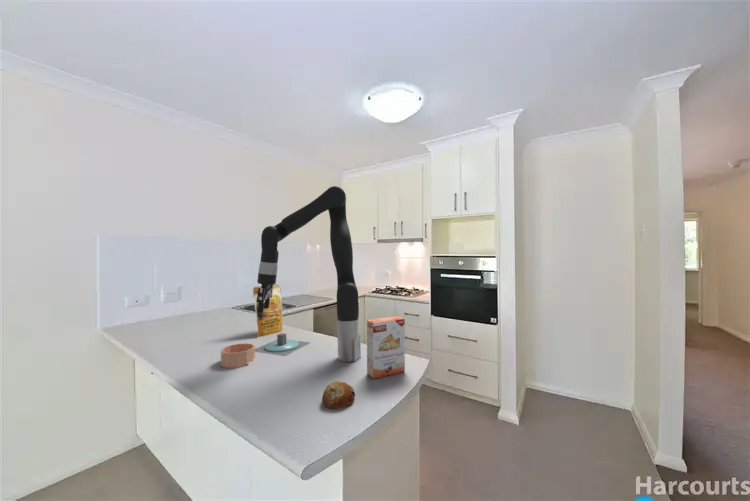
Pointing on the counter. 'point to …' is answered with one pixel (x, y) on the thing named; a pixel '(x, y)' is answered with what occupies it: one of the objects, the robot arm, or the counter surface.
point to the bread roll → (338, 395)
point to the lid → (281, 344)
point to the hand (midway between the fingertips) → (263, 310)
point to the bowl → (237, 355)
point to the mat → (262, 350)
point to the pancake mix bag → (269, 313)
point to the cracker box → (385, 346)
